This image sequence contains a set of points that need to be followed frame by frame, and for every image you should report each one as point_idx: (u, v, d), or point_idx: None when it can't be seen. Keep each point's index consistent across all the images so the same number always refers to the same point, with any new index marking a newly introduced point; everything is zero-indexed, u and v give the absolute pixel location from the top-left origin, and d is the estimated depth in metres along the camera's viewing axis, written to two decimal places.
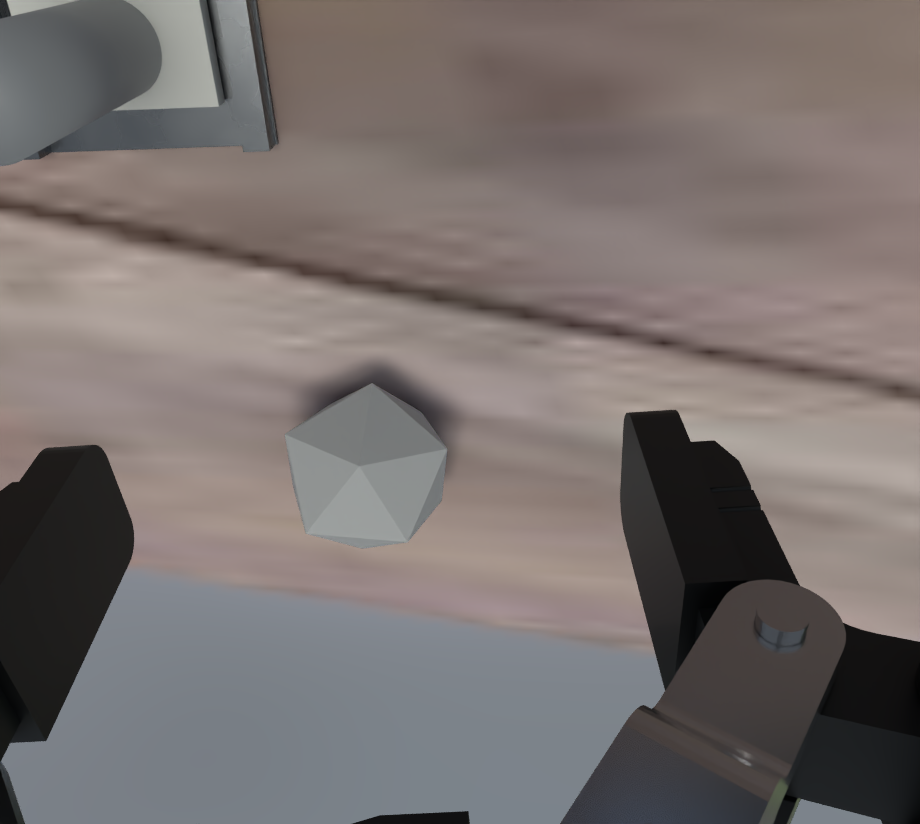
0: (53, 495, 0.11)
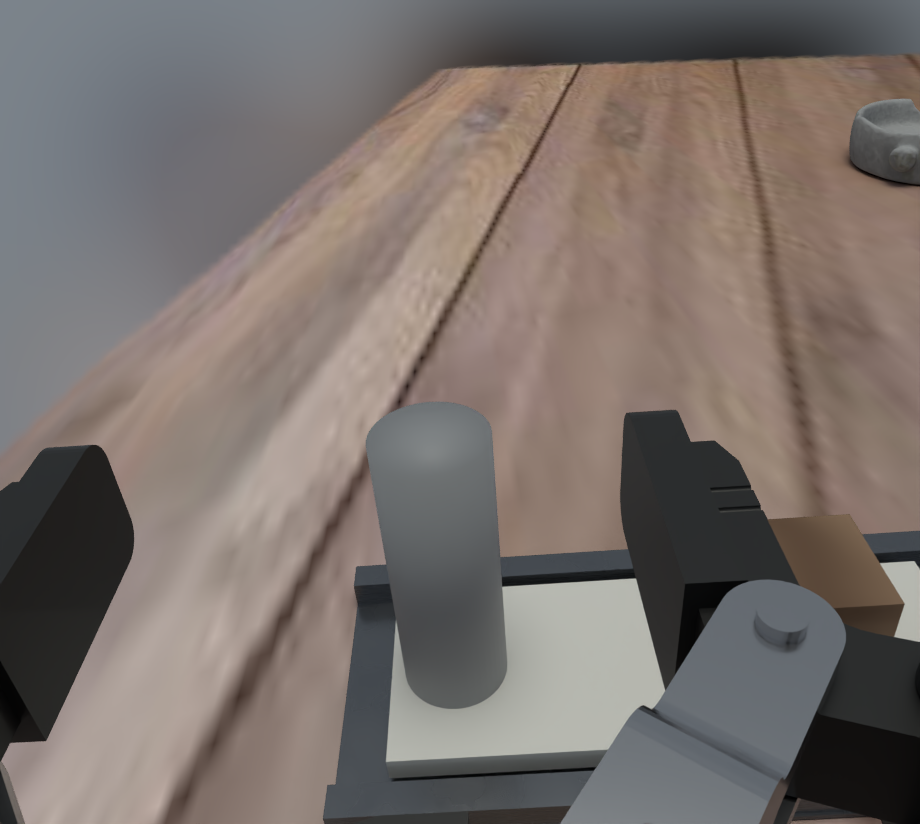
0: (53, 495, 0.11)
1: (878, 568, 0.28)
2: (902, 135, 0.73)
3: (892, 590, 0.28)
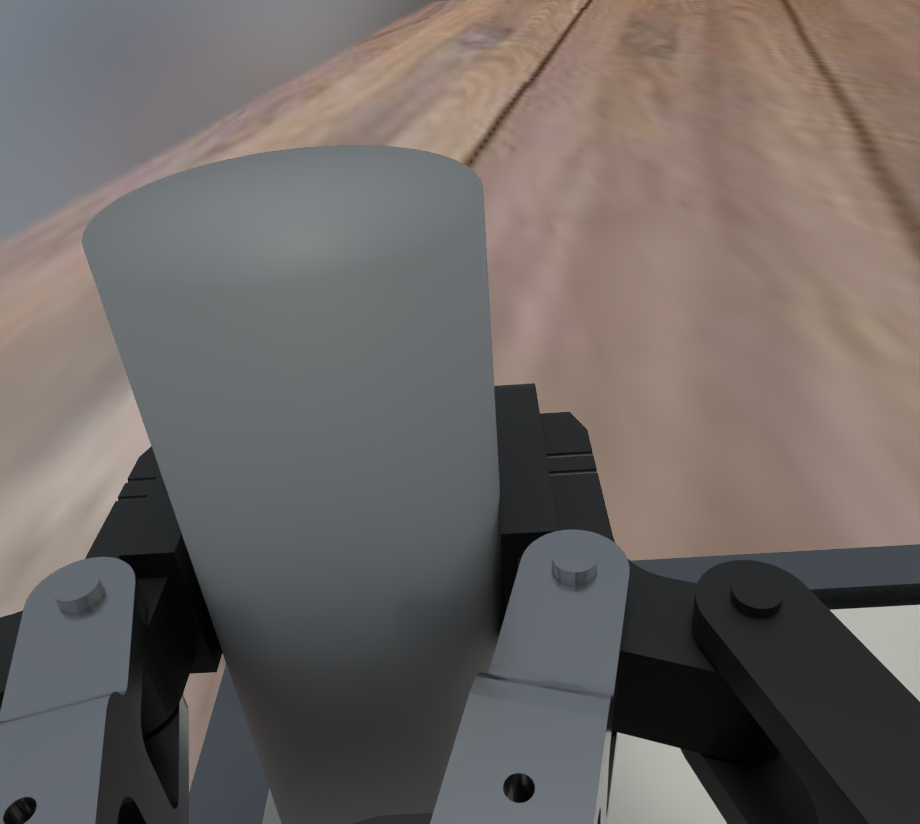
0: None
1: None
2: None
3: None
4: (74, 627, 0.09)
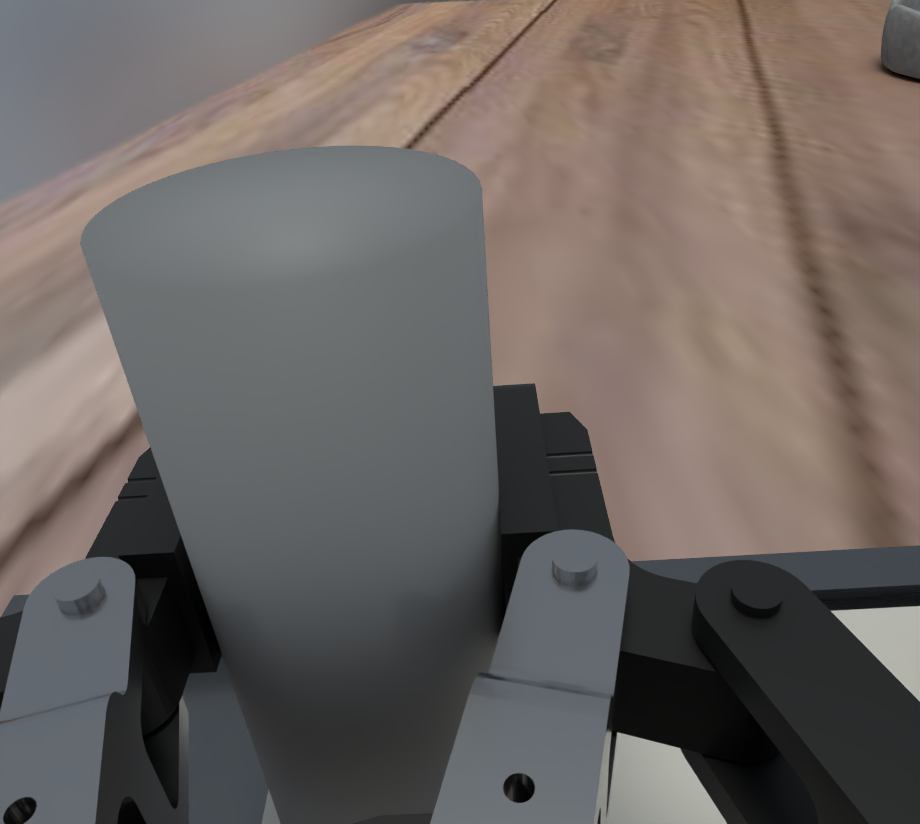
0: None
1: None
2: None
3: None
4: (74, 627, 0.09)
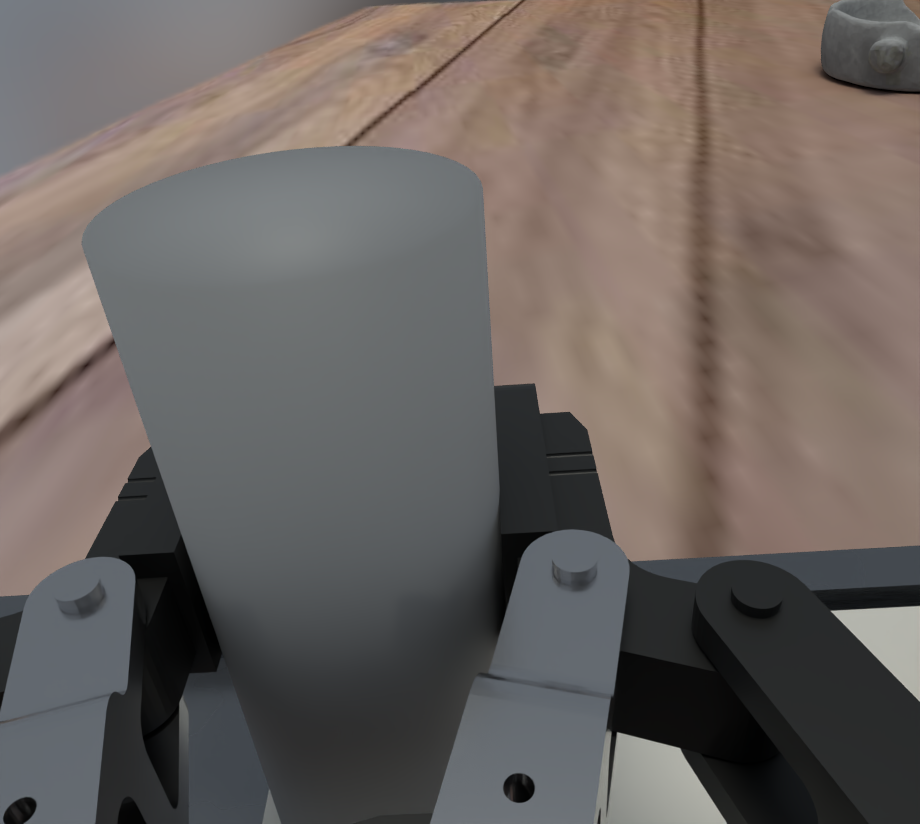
0: None
1: None
2: (886, 24, 0.56)
3: None
4: (74, 627, 0.09)
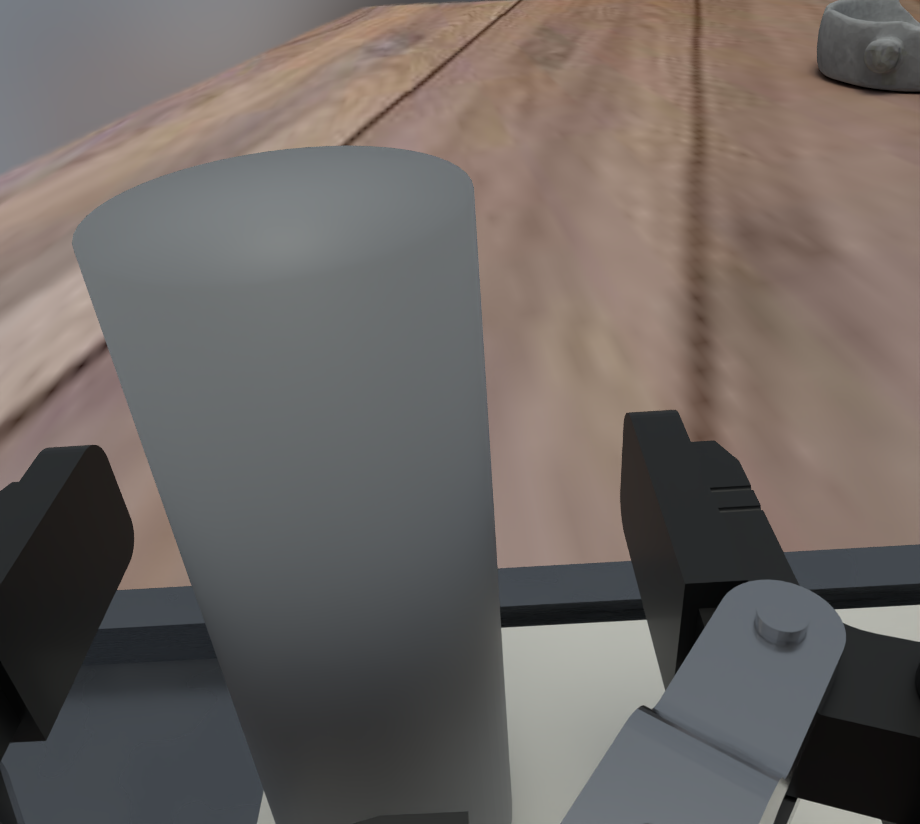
0: (53, 495, 0.11)
1: None
2: (882, 24, 0.56)
3: None
4: None
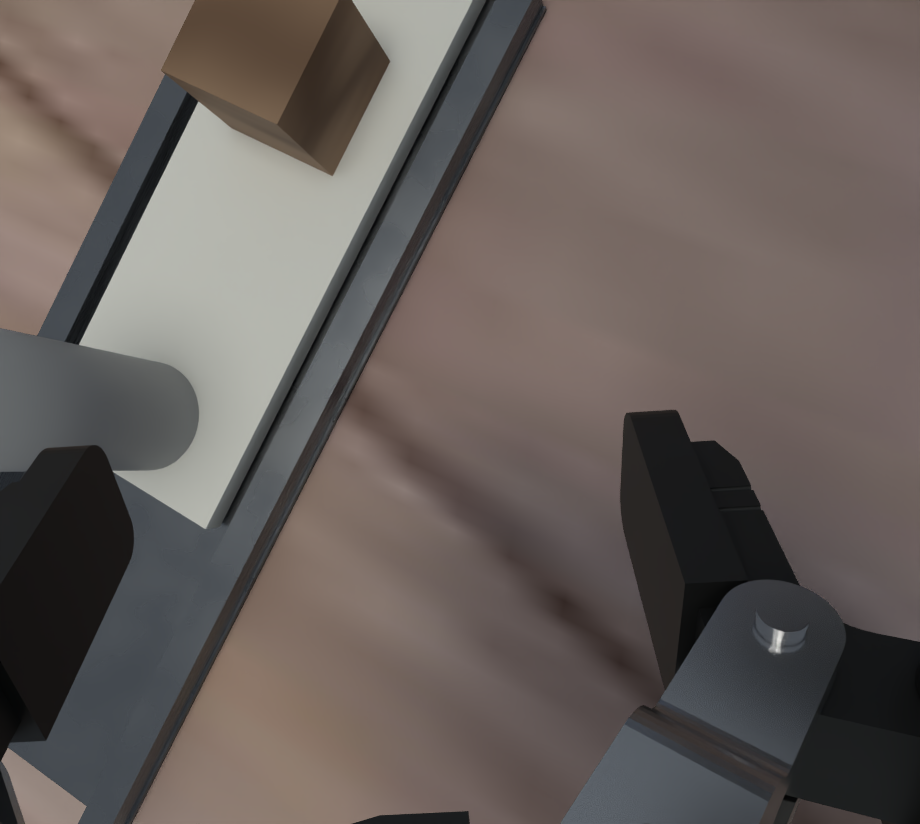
0: (53, 495, 0.11)
1: None
2: None
3: None
4: None
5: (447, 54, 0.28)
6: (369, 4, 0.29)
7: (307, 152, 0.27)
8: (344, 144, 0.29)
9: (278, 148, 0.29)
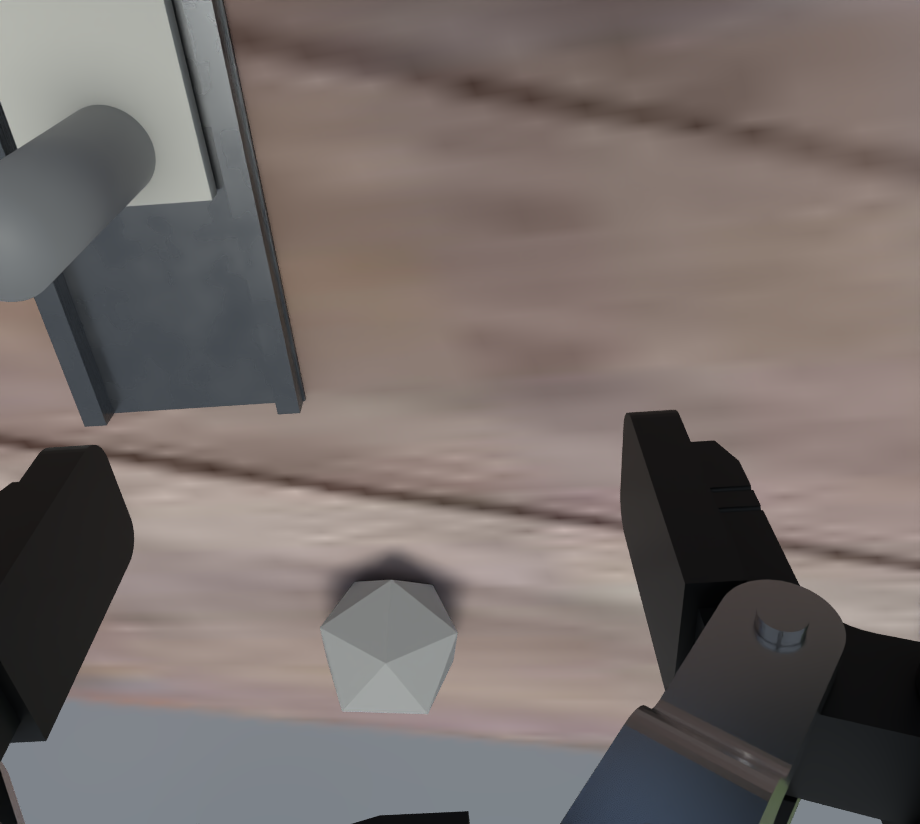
0: (53, 495, 0.11)
1: None
2: None
3: None
4: None
5: None
6: None
7: None
8: None
9: None
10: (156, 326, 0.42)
